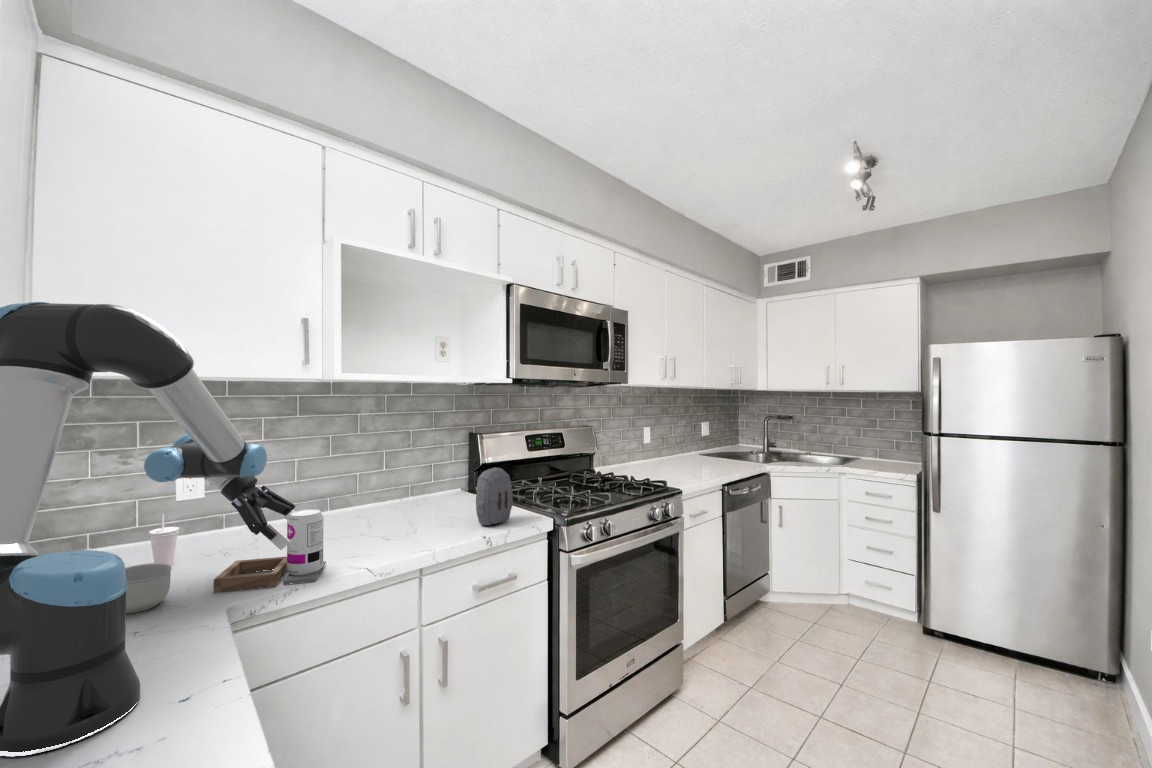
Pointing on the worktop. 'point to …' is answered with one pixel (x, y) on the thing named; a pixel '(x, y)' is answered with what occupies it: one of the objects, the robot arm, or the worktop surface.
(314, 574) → the rubber mat
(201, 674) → the worktop surface
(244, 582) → the pocket frame
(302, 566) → the supplement can
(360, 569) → the worktop surface
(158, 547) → the smoothie
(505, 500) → the soft grey pack
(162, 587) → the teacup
